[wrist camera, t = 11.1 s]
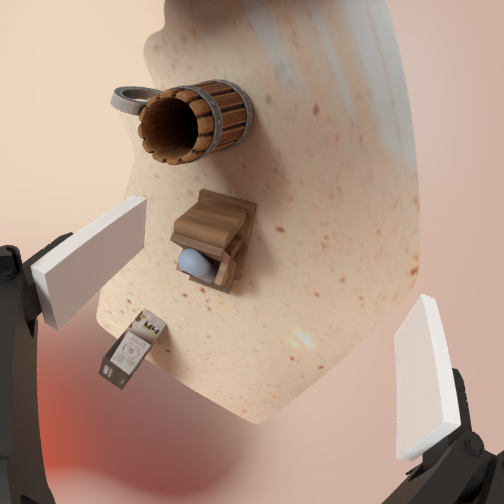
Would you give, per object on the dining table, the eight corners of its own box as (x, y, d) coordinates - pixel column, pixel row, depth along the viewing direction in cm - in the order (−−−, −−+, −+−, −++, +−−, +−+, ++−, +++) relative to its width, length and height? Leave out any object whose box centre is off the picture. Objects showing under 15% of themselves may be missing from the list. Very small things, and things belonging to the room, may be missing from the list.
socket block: (202, 188, 51) (165, 217, 41) (256, 203, 49) (230, 238, 39) (193, 269, 59) (161, 308, 49) (239, 284, 58) (215, 328, 48)
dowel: (205, 262, 56) (182, 245, 44) (223, 267, 55) (203, 251, 43) (200, 280, 55) (175, 268, 43) (217, 285, 54) (196, 274, 43)
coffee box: (143, 306, 68) (103, 355, 55) (167, 323, 69) (130, 375, 55) (133, 327, 73) (97, 373, 60) (155, 343, 74) (121, 391, 60)
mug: (268, 99, 41) (232, 105, 29) (235, 161, 47) (191, 193, 34) (177, 56, 41) (114, 53, 28) (152, 116, 47) (89, 134, 34)
